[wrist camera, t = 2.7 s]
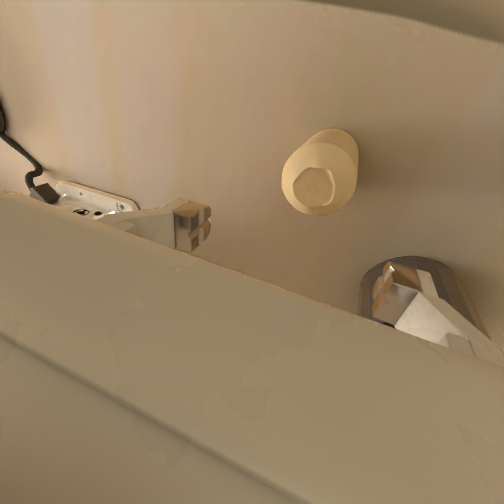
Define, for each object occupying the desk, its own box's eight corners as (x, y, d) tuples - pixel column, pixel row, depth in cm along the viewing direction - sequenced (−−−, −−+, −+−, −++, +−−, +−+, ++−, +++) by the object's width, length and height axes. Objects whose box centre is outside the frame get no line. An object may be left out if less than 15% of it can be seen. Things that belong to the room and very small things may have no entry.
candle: (332, 114, 24) (316, 126, 16) (371, 157, 24) (374, 189, 16) (291, 158, 27) (261, 186, 19) (326, 194, 28) (311, 236, 20)
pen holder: (343, 300, 34) (337, 356, 27) (393, 240, 28) (402, 292, 21) (419, 338, 33) (434, 406, 26) (489, 284, 26) (535, 356, 19)
